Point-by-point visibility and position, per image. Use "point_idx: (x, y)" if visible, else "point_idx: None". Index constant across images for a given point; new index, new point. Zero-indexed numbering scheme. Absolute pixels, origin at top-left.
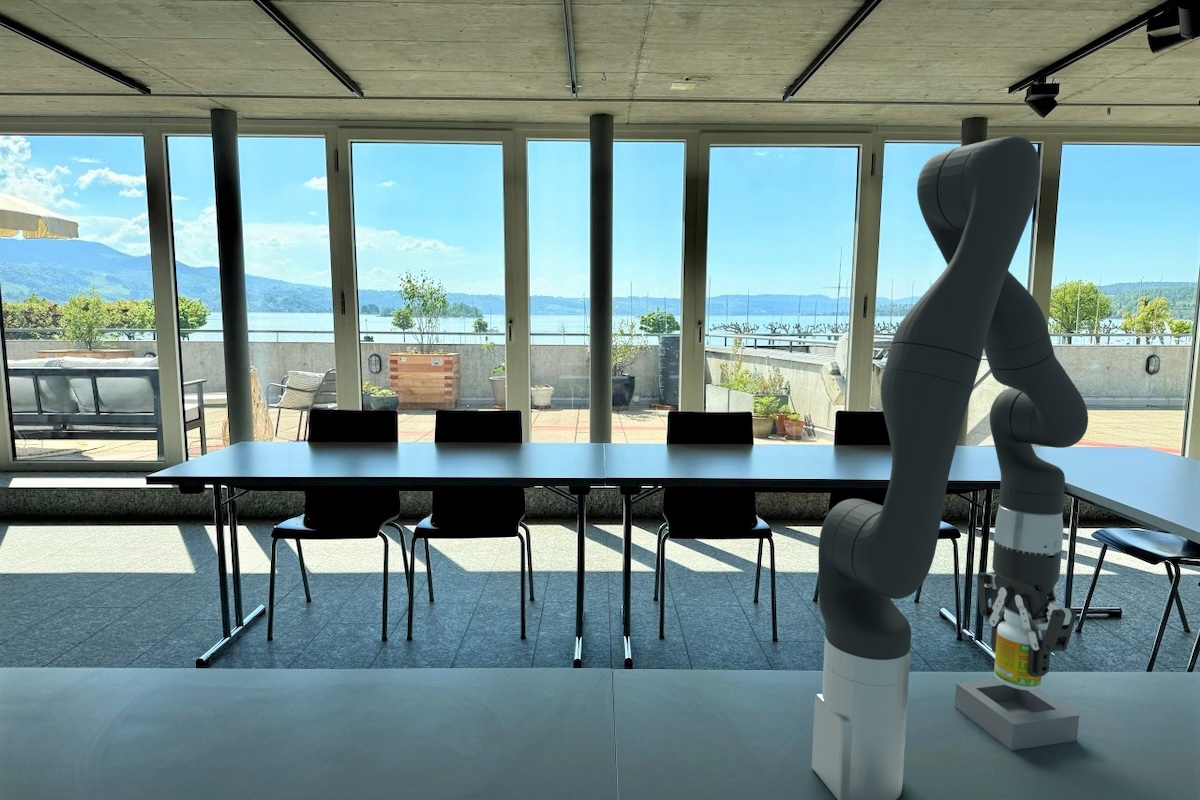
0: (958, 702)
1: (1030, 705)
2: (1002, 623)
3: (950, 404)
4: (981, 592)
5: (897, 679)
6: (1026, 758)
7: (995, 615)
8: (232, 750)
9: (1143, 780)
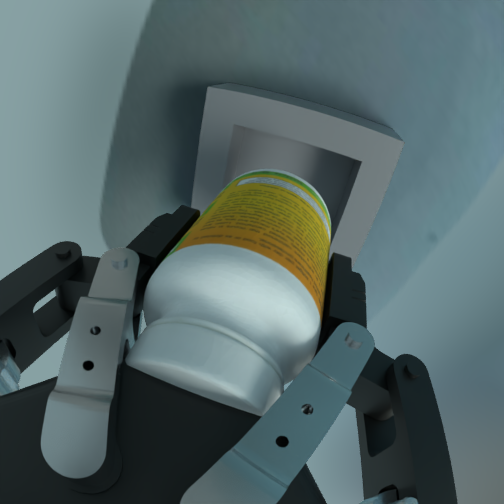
0: (385, 128)
1: None
2: (282, 329)
3: None
4: (432, 459)
5: None
6: (202, 88)
7: (338, 367)
8: None
9: (117, 204)
